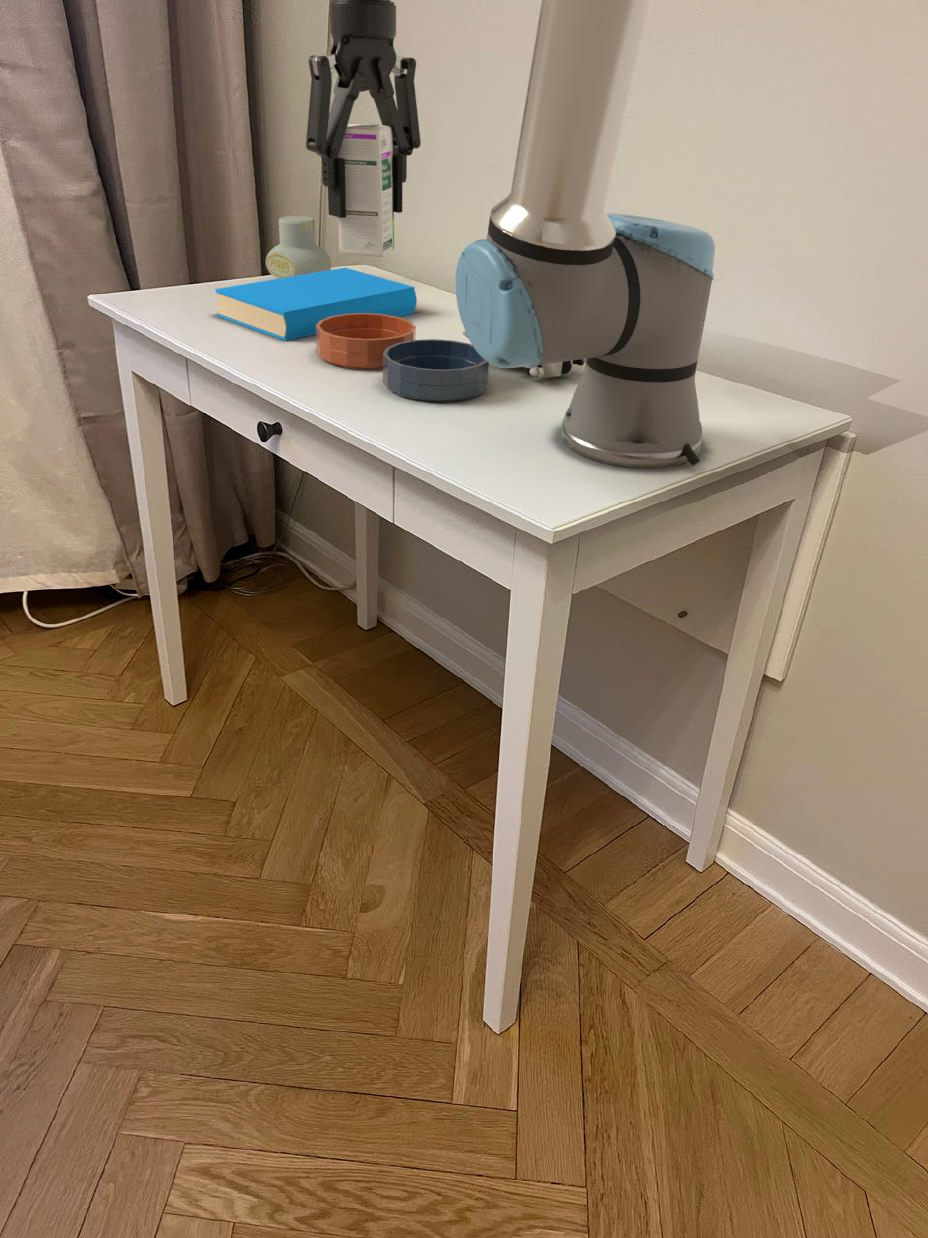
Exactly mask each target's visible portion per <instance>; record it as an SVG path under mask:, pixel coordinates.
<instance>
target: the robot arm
mask: <svg viewBox="0 0 928 1238" xmlns="http://www.w3.org/2000/svg"><path fill="white" fill-rule="evenodd" d="M652 1H653V0H541V4H540V9H539V16H538V22H537V29H536V34H535V40H534V48H533V53H532V58H531V65H530V71H529V76H528V77H529V78H528V83H527V90H526V94H525V95H526V96H525V103H524V109H523V115H522V120H521V126H520V133H519V139H518V145H517V152H516V158H515V165H514V171H513V177H512V181H511V189H510V193H509V194H508V195H507V196H505V197H504V198H503V199H501V200H500V201H499V202H498V203H496V204H495V205H494V206H493V207H492V208H491V210H490V214H489V221H488V228H487V233H486V239H485V238H484V239H483V238H482V239H478V240H474V241H473V242H471V243H468V244H467V246H466V247H465V248H464V250H463V251H461V253H460V255H459V258H458V261H457V264H456V268H455V269H456V270H455V297H456V298H455V299H456V303H457V305H456V306H457V309H458V310H457V311H458V313H459V316H460V320H461V323H462V325H463V329H464V332H466V334H467V336H468V338H469V339H468V338H467V339H468V340H469V342H470V344H472V345H473V347H474V348H475V350H476V351H477V353H478V354H479V355H480V356H481V357H482V358H483V359H484V360H485V361H487V362H488V363H490V365H492V366H493V367H495V368H500V369H513V368H524V367H526V368H535V367H537V366H538V365H543V364H550V363H557V362H565V361H572V360H579V359H586V363H585V366H584V369H583V370H584V371H583V372H582V375H581V377H580V380H579V382H578V384H577V386H576V389H575V391H574V393H573V396H572V398H571V401H570V403H569V406H568V408H567V409H566V412H565V414H564V416H563V420H562V427H561V439H562V442H563V443H564V444H565V445H566V446H567V447H568V448H569V449H570V450H572V451H573V452H575V453H577V454H578V455H581V456H583V457H585V458H588V459H591V460H593V461H596V462H597V461H598V462H601V463H605V464H608V465H609V464H610V465H613V466H614V465H615V466H622V467H630V468H648V469H649V468H665V467H673V466H677V465H682V464H684V463H687V462H688V463H689V464H690V465H691V466H693V467H694V466H695V465H697V464H698V463H699V462H700V459H699V457H698V455H699V454H700V451H701V447H702V442H703V426H702V423H701V420H700V410H699V401H698V394H697V388H696V387H697V386H696V373H697V366H698V361H699V355H700V349H701V343H702V339H703V333H704V327H705V321H706V315H707V310H708V306H709V299H710V293H711V288H712V283H713V281H714V277H715V275H714V273H713V270H714V262H715V253H716V245H715V241H714V239H713V237H712V236H711V235H710V234H709V233H708V232H707V231H705V230H703V229H700V228H697V227H694V226H690V225H686V224H681V223H678V222H674V221H670V220H669V221H668V220H663V219H659V218H651V217H646V216H640V215H635V214H626V213H615V212H613V213H611V212H610V213H606V205H607V202H608V201H607V200H608V197H609V192H610V187H611V183H612V178H613V174H614V171H615V165H616V160H617V158H618V157H617V156H618V152H619V148H620V143H621V138H622V134H623V130H624V125H625V121H626V117H627V111H628V107H629V103H630V98H631V94H632V90H633V86H634V85H633V84H634V81H635V75H636V71H637V67H638V62H639V59H640V55H641V54H640V53H641V49H642V45H643V40H644V36H645V33H646V32H645V31H646V27H647V23H648V18H649V14H650V10H651V6H652V5H651V4H652ZM329 25H330V27H329V29H330V30H329V31H330V34H331V37H332V46H331V48H330V51H329V53H327V54H322V55H316V54H315V55H314V54H313V55H310V56H309V57H308V67H309V72H310V78H311V81H310V82H311V83H310V93H309V103H308V104H309V105H308V116H307V126H306V127H307V129H306V140H305V148H306V149H307V150H308V151H309V152H312V153H315V154H316V155H317V156H319V157H320V158H321V176H322V178H321V179H322V185H323V187H326V188H327V205H328V206H327V207H328V215H329V216H332V217H336V218H338V217H339V218H345V217H346V193H345V159H343V158H338V155H339V152H340V148H341V145H342V142H343V138H344V135H345V131H346V128H347V126H348V125H349V121H350V117H351V114H352V110H353V107H354V104H355V101H356V100H357V99H358V98H359V96H360V93H362V92H366V91H367V92H368V93H369V95H370V97H371V98H372V99H373V100H374V101H373V102H374V104H375V107H376V110H377V113H378V117H379V119H380V123H381V125H386V126H390V127H391V128H392V133H393V191H394V213H397V214H400V213H403V183H406V182H407V178H408V177H407V175H408V174H407V173H408V171H407V169H408V163H407V162H408V156H411V155H412V154H413V152H414V150H415V149H417V150H418V149H419V148H420V147H421V144H422V143H421V132H420V124H419V114H418V113H419V112H418V104H417V96H416V95H417V94H416V87H415V77H416V69H417V60H416V58H414V57H404V56H400V55H397V53H396V50H395V46H394V40H395V37H396V36H397V5H396V4H395V1H392V0H330V2H329ZM335 71H336V74H337V78H336V82H335V85H334V88H333V93H334V96H333V100H332V104H331V96H332V87H333V85H332V84H333V83H332V82H333V81H332V80H333V78H332V77H333V76H332V75H333V74H334V73H335ZM391 74H393V75H394V79H393V81H394V86H393V82H392V80H391V77H390V75H391ZM394 95H395V97H394Z"/></svg>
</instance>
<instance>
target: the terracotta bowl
mask: <svg viewBox="0 0 928 1238" xmlns="http://www.w3.org/2000/svg"><path fill="white" fill-rule="evenodd" d="M315 339H316V340H315V342H316V353H317V355H318V357H319V358H320V359H322V360H324V361H326V362H327V363H329V364H331V365H334V366H338V367H342V368H347V369H355V370H381V369H382V370H383V353H384V351H385V349H386V348H387V347H389V346H392V345H394V344H396V343H400V342H406V341H411V340H417V326H416V325H415V324H414V322H412V321H410V320H408V319H405V318H403V317H401V316H398V317H395V316H390V315H384V314H371V313H355V314H343V315H336V316H331V317H328V318H325V319H323V320H320V321H319V322H318V323H317V325H316V334H315Z"/></svg>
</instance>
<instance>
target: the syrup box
mask: <svg viewBox="0 0 928 1238" xmlns="http://www.w3.org/2000/svg"><path fill="white" fill-rule="evenodd" d="M338 158H343V159H345V193H346V217H345V218H339V217H337V222H338V223H337V224H338V225H337V226H338V247H339V253H340V254H341V255H348V256H355V257H367V258H369V257H370V258H384V255H386V254H387V253H389V252H391V251H393V250H394V249H395V212H394V191H393V133H392V128H391V127H390V126H386V125H382V124H378V123H355V124H354V123H353V124H352V123H350V124H349V123H348V125H347V128H346V131H345V135H344V138H343V142H342V145H341V148H340V152H339V155H338Z"/></svg>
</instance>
